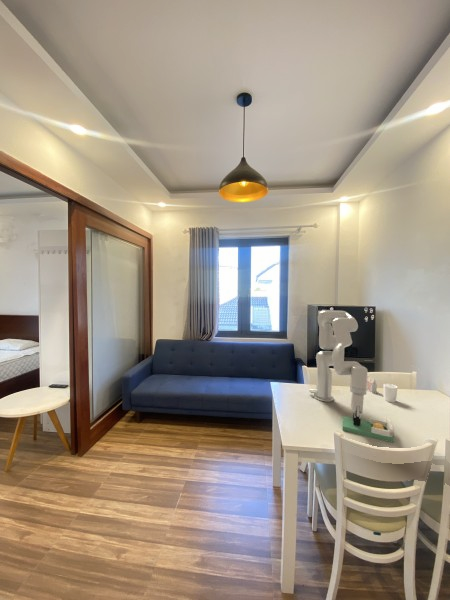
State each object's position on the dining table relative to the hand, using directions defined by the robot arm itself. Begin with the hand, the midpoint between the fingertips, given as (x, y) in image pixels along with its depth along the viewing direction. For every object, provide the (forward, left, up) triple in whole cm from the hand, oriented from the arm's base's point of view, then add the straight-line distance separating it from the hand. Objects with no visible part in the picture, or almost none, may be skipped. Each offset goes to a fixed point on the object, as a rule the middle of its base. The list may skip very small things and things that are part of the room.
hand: (356, 423), depth 130 cm
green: (+4, 0, -2) cm, 5 cm away
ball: (+10, -1, 0) cm, 10 cm away
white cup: (+21, +49, -3) cm, 53 cm away
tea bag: (+11, +61, -3) cm, 62 cm away
